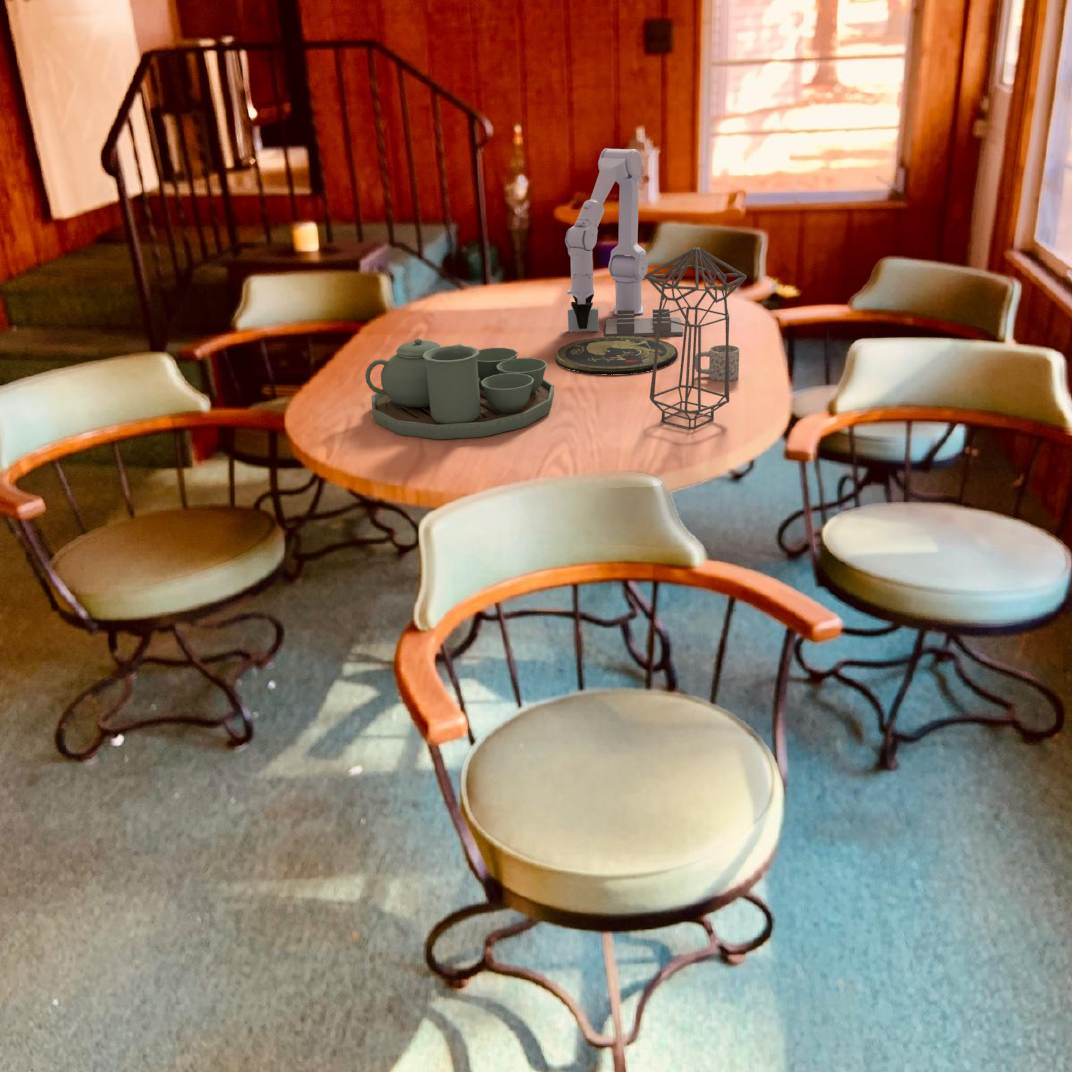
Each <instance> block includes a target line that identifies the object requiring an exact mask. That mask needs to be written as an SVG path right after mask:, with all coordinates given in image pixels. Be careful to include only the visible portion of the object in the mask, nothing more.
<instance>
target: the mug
mask: <svg viewBox="0 0 1072 1072" xmlns="http://www.w3.org/2000/svg"><path fill="white" fill-rule="evenodd" d="M725 356H726V344H717V345H713V346H711V347H709V350H705V351H701V358H702V357H706V358H709V360H708V361H709V362H708V363H709V364H708V365H709V367H708V368H701V374H704V375H708V378H709V380H711V381H714V382H720V383H722V382H723V383H725ZM739 369H740V348H739V347H738V346H736V345H732V344H731V345H729V382H734V381H736V380H738V379H739V376H740V375H739V374H740V372H739ZM695 372H697V373H698V352H696V355H695Z"/></svg>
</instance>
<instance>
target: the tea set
mask: <svg viewBox="0 0 1072 1072" xmlns="http://www.w3.org/2000/svg"><path fill="white" fill-rule="evenodd" d="M395 351H396V354H394V355H392V356H391V357H390V358H389V359H388V360H387V359H383V358H379V359H375V360H373V361H372V362H371V363H369V365H368V366H367V368H366V370H365V375H364V376H365V377H364V378H365V383H366V384H367V386H368V388H369V389H370V390H371V391H372V392H373V393H374V394H371V409H372V411H371V412H372V418H373V420H374V422H375V424H378V425H379V426H381V427H383V428H385V429H386V430H389V431H391V432H393V433H395V434H398V435H401V436H409V437H417V438H425V439H432V440H452V439H453V440H454V439H468V438H472V439H473V438H484V437H488V436H489V437H490V436H493V435H497V434H501V433H506V432H510V431H514V430H517V429H522V428H526V427H528V426H529V425H531V424H533V423H534V422H536V421H538V420H540V419H541V418H543V417H545V416H547V415H548V414H549V413H550V412H551V409H552V406H553V405H552V404H553V400H554V396H555V385H553V384H552V383H550V382H549V381H547V380H546V379H545V378H544V377H545V371H546V368H547V365H548V363H547V362H546V361H545V360H543V359H540V358H535V357H534V358H533V357H518V356H519V352H518V351H517V350H515V349H514V348H510V347H509V348H507V347H488V348H481V349H478V348H476V347H473V346H471V345H470V346H469V345H464V344H461V343H459V344H453V345H452V344H451V345H445V346H444V345H443V346H442V345H441V344H440V343H438V342H435V341H433V340H422V339H420V338H416V339H415V340H413V341H407V342H405V343H402V344H401V345H400V346H398V348H397V349H396V350H395ZM378 365H383V367H382V370H381V372H380V382H381V383H380V385H381V387H382V388H380V387H379V388H378V387H377V386H375V384H373V382H372V380H371V372H372V370H373V369H374V368H375V367H377V366H378Z"/></svg>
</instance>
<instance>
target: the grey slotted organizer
mask: <svg viewBox="0 0 1072 1072" xmlns="http://www.w3.org/2000/svg"><path fill="white" fill-rule="evenodd" d="M661 311H662V308H661ZM668 311H670V308H664V310H663V312H662V313H665V312H668ZM658 312H659V308H654V309H652V317H636V318H635V314H634V310H617V315H616V316H617V318H607V319H606V321H605V335H604V337H606V336H637V337H644V336H652V337H656V333H657V320H658V319H657V317H658ZM662 318H664V319H668V320H672V321H676V322H679V323H682V319H681V317H680V316H678V317H677V316H674V317H673V316H671V313H668V314H665V315H662ZM675 335H679V337H680V336H681V335H683V336H684V329H683V325H680V324H676V323H672V322H668V321H664V320H661V329H660V337H676V336H675Z"/></svg>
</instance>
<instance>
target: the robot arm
mask: <svg viewBox="0 0 1072 1072" xmlns="http://www.w3.org/2000/svg"><path fill="white" fill-rule="evenodd" d="M597 165H598V170H599V172H598V176H597V178H596V182H595V184H594V188H593V191H592V193H591V196H590V199H588V200H585V201H584V203H583V205H582V207H581V210H580V211H579V214H578V217H577V218H576V221H575V223H574V225H573V226H571V227H570V228H568V229H567V231H566V233H565V234H566V235H565V239H564V243H565V245H566V248H567V254H568V256H569V257H570V278H571V279H570V281H571V283H570V284H571V289H568V290H566V293H567V295H572V299H574V301H571V303H570V306H571V308H573V310H574V312H575V315H576V319H577V323H578V327H579V329H587V325H588V318H589V312H590V309H591V308H593V305H594V304H593V303H594V302H592V301H593V299H594V296H595V289H594V273H593V272H594V270H593V269H594V268H593V267H594V265H593V249H594V248H595V246H596V244H597V240H598V234H599V233H598V232H599V229H598V227H599V224H600V223H601V220H602V218H603V217H604V213H605V208H604V203H605V201H606V199H607V197H608V195H610V192H611V190H612V188H613V187H614V184H615V183H617V184H618V185H619V201H618V203H619V204H618V241H617V242H618V243H617V245H616V246H615V247H614V248H613V249H612V250H611V251H610V257H609V261H608V273H609V275H610V276H611V277H612V280H613V281H615V284H614V285H615V287H614V288H615V289H614V290H615V305H614V311H613V313H614V315H615V316H617V310H634V315H643V314H644V309H643V308H644V307H643V306H644V305H643V304H642V281H644V280H643V276H645V275H647V274H648V272H649V271H648V269H649V265H648V259H647V251H646V250H645V249H644V248H642V247H641V246H640V245H639V243H638V239H639V237H638V234H639V233H638V231H639V202H640V201H639V197H640V181H641V180H642V171H643V170H642V169H643V156H642V155H641V154H640V152H639V150H638V149H634V148H632V149H625V148H623V149H621V148H608V147H607V148H604V149H603V150H602V151H601V152H600V156H599V159H598V163H597Z"/></svg>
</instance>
